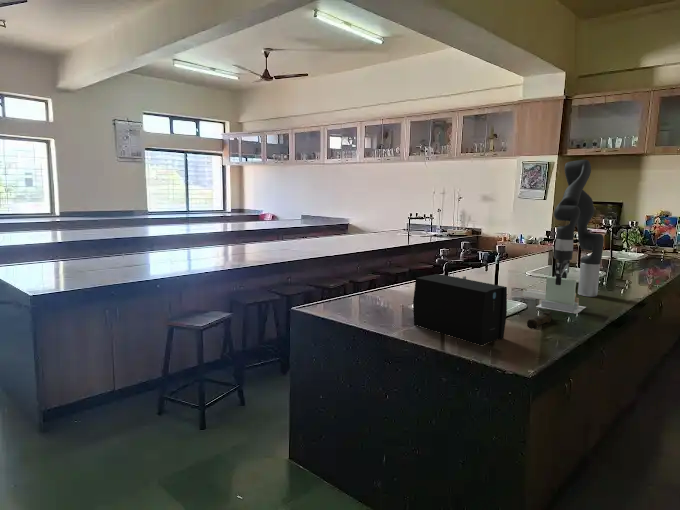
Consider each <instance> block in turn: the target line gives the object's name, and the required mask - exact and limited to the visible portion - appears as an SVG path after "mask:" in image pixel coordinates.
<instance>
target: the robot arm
mask: <svg viewBox="0 0 680 510" xmlns="http://www.w3.org/2000/svg"><path fill="white" fill-rule="evenodd" d="M591 173H592V166H591V162H590V161H589V160H588V159H578V160H573V161H567V162H565V165H564V174H565V179H566V183H567V187H566V189H565V190H564V193H563V196H562V199H561V200H560V202H559V203H558V204H557V205H556V207H555V209H554V212H553V217H554V218H555V220H557V221H560V222H562V221H563V222H569V223H568V224H567V225H560V226H558V227H557V229H556V239H555V246H554V255H553V256H554V259H555V260H557V261H558V262H555V264H554V265H555V266H554V273H553V275H554V276H553V277H556V282H555V284H556V285H561V278H565V279H568V278H567V277H568V274H569V272H570V262H571V260H573V256H574V255H573V253H574V237H575V229H576V228H577V236H578V238H577V240H578V244H579V247H580V249H582V250H584V251H591V253H590V254H589V255H585V256H582V257H581V258H580V266H579V267H580V268H579V275H578V276H579V279H578V287H577V288H578V289H577V294H578V295H579V296H584V297H590V298H591V297H598V290H599V280H600V272H601V260H602V258H603V250H604V244H605V238H604V235H603V234H602V233H598V232H595V233H594V232H589V229H588V225H589V223H590V221H591V220H592V218H593V216H594V214H595V206H594V201H593V199H592V197H591V196H590V195H589V194H588V193H587V192H586V190H584V188H585V185H586V184H587V181H589V179H590V177H591Z"/></svg>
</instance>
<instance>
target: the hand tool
mask: <svg viewBox="0 0 680 510" xmlns="http://www.w3.org/2000/svg"><path fill="white" fill-rule="evenodd" d="M552 315H553V314H552V311H551V310H547V311H544V312H543V313H542V314H541V315H539V316H537V317H534V318H531V319H527V321H526V323H527V324H526V327H527V328H528V327H529V329H532V328H534V329H537V328H538V327H539V326H542V325H543V324H545V323H546V324H547V323H551V321H552V317H553V316H552Z"/></svg>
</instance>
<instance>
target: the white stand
mask: <svg viewBox="0 0 680 510" xmlns="http://www.w3.org/2000/svg"><path fill="white" fill-rule="evenodd" d="M522 297H524V298H528V299H529V298H530V299H535V300H541V301H542V300H545V297H546V290H539V289H532V288H527V289H526V290H522Z"/></svg>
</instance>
